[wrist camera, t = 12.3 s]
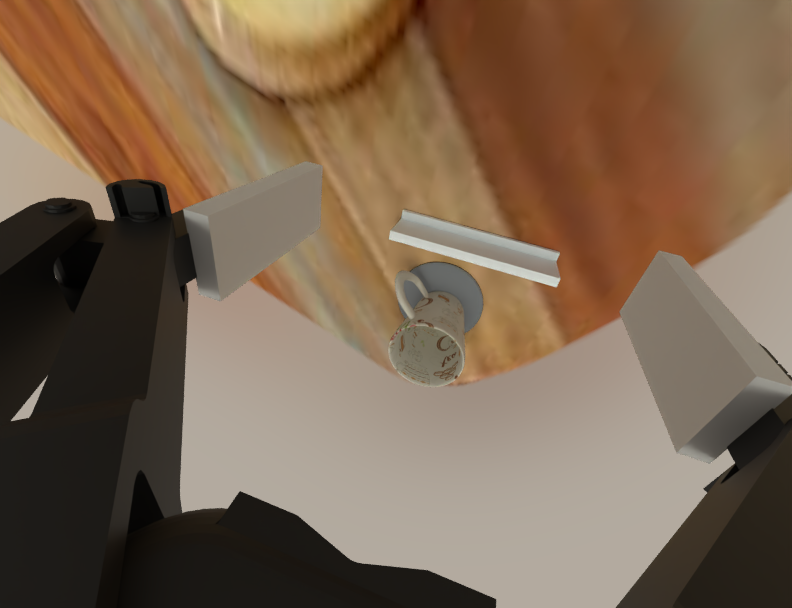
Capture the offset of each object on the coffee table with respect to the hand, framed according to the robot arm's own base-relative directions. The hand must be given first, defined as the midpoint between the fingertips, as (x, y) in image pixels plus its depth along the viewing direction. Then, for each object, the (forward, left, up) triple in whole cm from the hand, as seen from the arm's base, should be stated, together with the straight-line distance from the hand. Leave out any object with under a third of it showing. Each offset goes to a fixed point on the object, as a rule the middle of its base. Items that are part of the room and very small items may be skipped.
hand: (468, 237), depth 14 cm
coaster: (+19, -1, -26) cm, 32 cm away
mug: (+18, -2, -26) cm, 32 cm away
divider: (+10, +1, -26) cm, 28 cm away
